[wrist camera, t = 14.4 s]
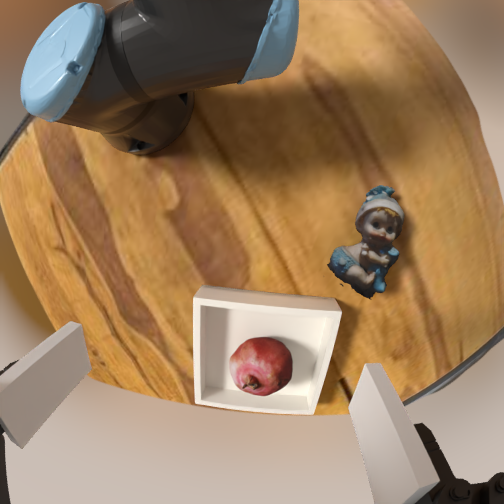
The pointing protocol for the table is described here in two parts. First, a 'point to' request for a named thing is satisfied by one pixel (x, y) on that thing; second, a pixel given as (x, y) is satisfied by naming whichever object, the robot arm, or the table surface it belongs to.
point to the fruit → (261, 366)
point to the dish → (262, 325)
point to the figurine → (371, 244)
